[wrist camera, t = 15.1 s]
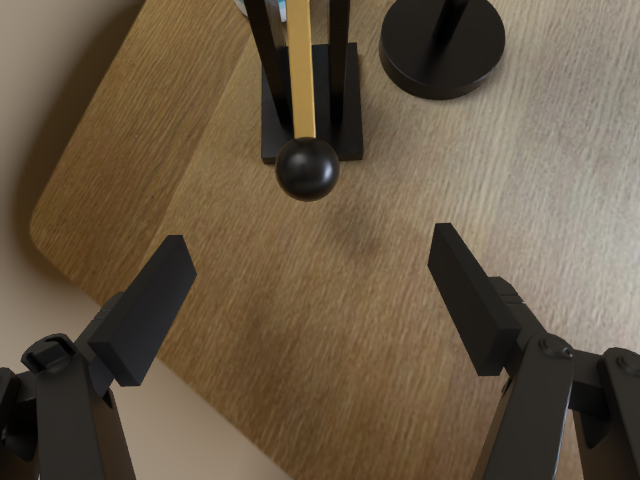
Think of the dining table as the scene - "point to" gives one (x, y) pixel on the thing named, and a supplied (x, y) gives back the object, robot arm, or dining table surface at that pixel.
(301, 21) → the lamp switch
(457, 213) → the dining table surface
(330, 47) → the switch bracket
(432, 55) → the desk lamp
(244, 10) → the pill bottle
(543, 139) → the dining table surface
